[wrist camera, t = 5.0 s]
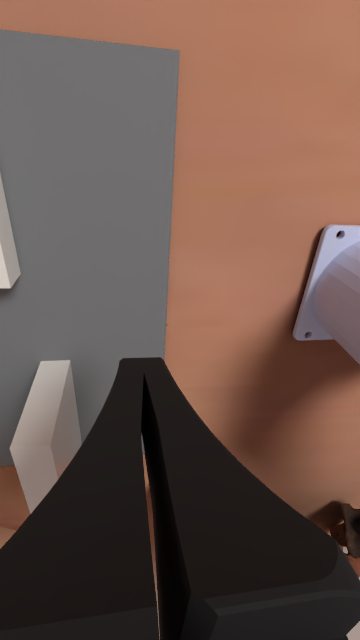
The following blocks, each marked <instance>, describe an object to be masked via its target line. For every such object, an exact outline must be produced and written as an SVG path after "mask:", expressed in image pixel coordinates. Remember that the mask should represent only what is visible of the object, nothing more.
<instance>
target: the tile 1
mask: <svg viewBox="0 0 360 640" xmlns="http://www.w3.org/2000/svg"><path fill="white" fill-rule="evenodd" d="M20 274H21V272H20V267H19V263H18V258H17V253H16V248H15V243H14V238H13V233H12V228H11V223H10V218H9V213H8V208H7V204H6V199H5V194H4V189H3V184H2V179H1V174H0V288H11V287H12V286H13V284H14V283H15V282H16V280H17V279H18V277H19V276H20Z"/></svg>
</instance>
